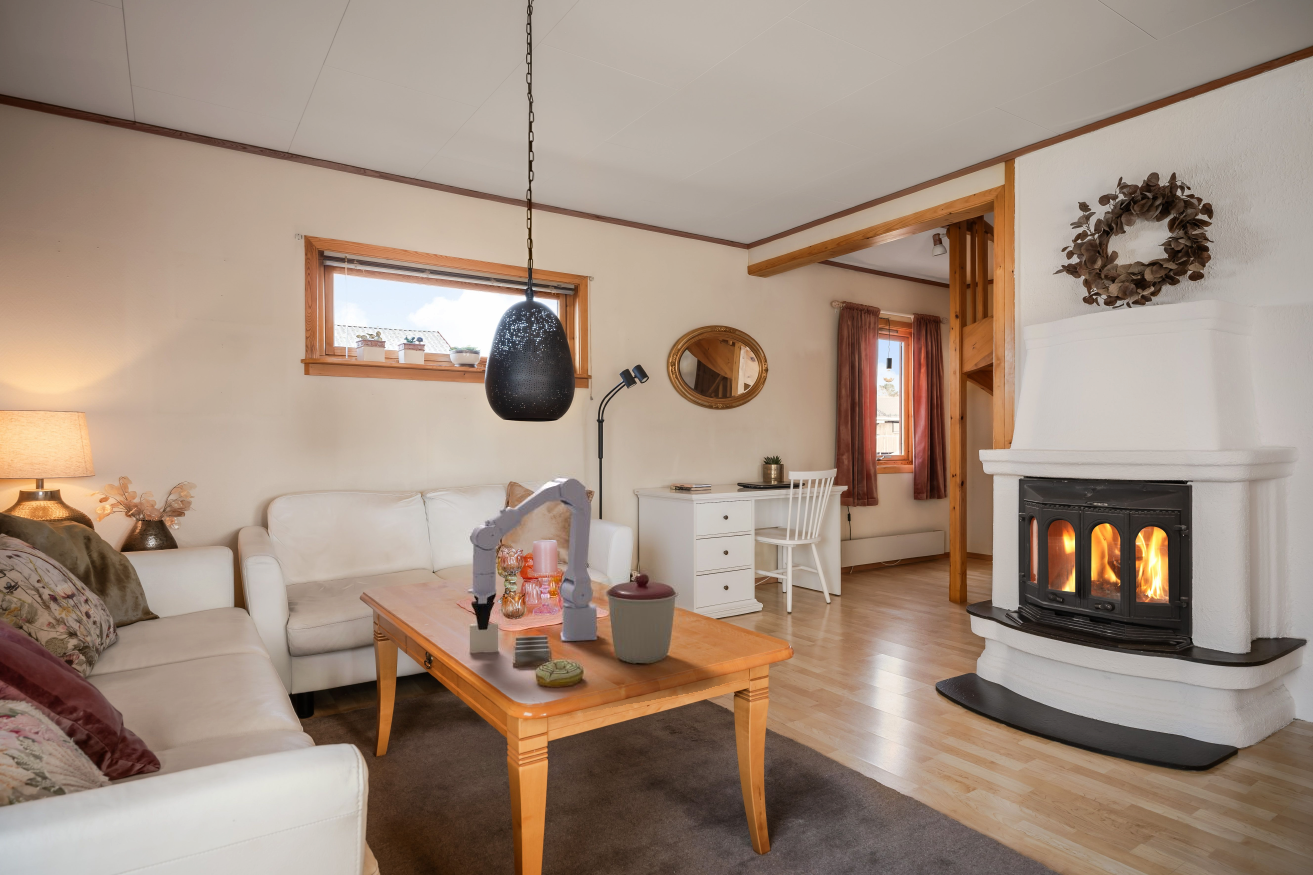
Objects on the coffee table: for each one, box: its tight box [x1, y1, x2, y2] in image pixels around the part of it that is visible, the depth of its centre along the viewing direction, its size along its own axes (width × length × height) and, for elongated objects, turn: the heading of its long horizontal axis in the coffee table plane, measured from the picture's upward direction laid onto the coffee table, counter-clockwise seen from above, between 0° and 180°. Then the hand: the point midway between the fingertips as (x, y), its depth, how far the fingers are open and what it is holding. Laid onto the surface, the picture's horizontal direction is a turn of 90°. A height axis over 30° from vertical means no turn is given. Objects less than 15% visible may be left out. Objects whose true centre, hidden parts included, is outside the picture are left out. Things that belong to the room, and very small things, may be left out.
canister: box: [605, 573, 679, 664], centre depth 179 cm, size 18×18×21 cm
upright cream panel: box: [469, 622, 499, 654], centre depth 183 cm, size 7×2×7 cm, turn 100°
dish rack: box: [512, 635, 552, 668], centre depth 179 cm, size 9×14×4 cm, turn 10°
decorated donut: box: [534, 659, 585, 688], centre depth 162 cm, size 10×11×4 cm
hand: (483, 625), depth 183 cm, fingers open, 7 cm apart
